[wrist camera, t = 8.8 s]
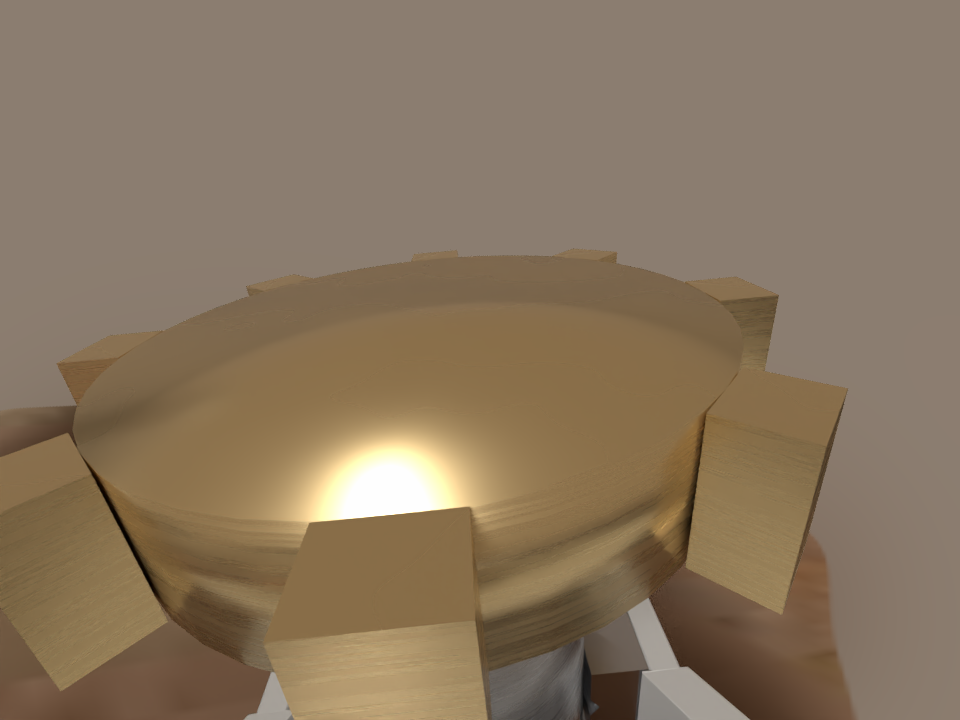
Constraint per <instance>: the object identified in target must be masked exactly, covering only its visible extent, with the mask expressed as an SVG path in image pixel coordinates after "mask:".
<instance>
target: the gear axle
mask: <svg viewBox="0 0 960 720" xmlns="http://www.w3.org/2000/svg"><path fill="white" fill-rule="evenodd" d="M616 259H617V252H611V251H597V250H585V249H584V250H583V249H571V250H568V251H565V252H562V253H560V254H557V255H554V256H552V257H551V256H550V257H549V256H473V257H458V253H457V250H455V251H444V252H433V253H422V254H414V256H413V258H412V261H411V262H404V263H397V264H389V265H382V266H376V267H370V268H364V269H358V270H353V271H347V272H342V273H337V274H332V275H328V276H323V277H319V278H314V279H313V278H309V277H304V276H299V275H289V276H285V277H281V278H277V279H273V280H269V281H265V282H262V283H257V284H253V285H249V286H246V287H247V291H248V294H249V297H245V298H242V299H239V300H236V301H234V302H231V303H228V304H225V305H223V306H220V307H217V308H214V309H212V310H209V311H207V312H205V313H202V314H200V315H197V316H195V317H193V318H190V319H188V320H186V321H184V322H182V323H179V324H177V325H175V326H173V327H171V328H169V329H167V330H165V331H153V332H142V333H131V334H121V335H111V336H108V337H106V338H104V339H102V340H100V341H98V342H96V343H94V344H93V345H91V346H89V347H87V348H85V349H83V350H81V351H79V352H77V353H75V354H73V355H72V356H70V357H68V358H66V359H64V360H62V361H60V362H58V363H57V365H58V368H59V369H60V371H61V373H62V375H63V378H64V380H65V381H66V384H67V386H68V388H69V390H70V392H71V394H72V395H73V398H74V400H75V402H76V404H77V406H78V407H77V408H76V410H75V416H74V423H73V430H72V431H73V435H74V438H75V441H76V445H77V448H78V449H77V448H76V446H75V444H74V442H73V441H72V439H71V437H70V435H69V434H68V433H66V434H63V435H60V436H58V437H55V438H52V439H49V440H47V441H44V442H41V443H38V444H36V445H33V446H30V447H27V448H25V449H22V450H19V451H16V452H14V453H11V454H8V455H5V456H3V457H0V608H1V609H2V610H3V612H4V613H5V615H6V616H7V617H8V619H9V620H10V621H11V623H12V624H13V626H14V627H15V628H16V630H17V631H18V633H19V634H20V635H21V637H22V638H23V640H24V641H25V642H26V644H27V645H28V646H29V648H30V649H31V651H32V652H33V653H34V655H35V656H36V658H37V659H38V660H39V662H40V663H41V665H42V666H43V667H44V669H45V670H46V672H47V673H48V674H49V676H50V677H51V678H52V680H53V681H54V683H55V684H56V685H57V687H58V688H59V690H60V691H62V690H64V689H65V688H67V687H68V686H70V685H71V684H73V683H75V682H76V681H78V680H79V679H81V678H82V677H84V676H85V675H87V674H88V673H90V672H91V671H93V670H94V669H96V668H98V667H99V666H101V665H102V664H104V663H105V662H107V661H108V660H110V659H111V658H113V657H114V656H116V655H117V654H119V653H121V652H122V651H124V650H125V649H127V648H128V647H130V646H131V645H133V644H134V643H136V642H137V641H139V640H140V639H142V638H144V637H145V636H147V635H148V634H150V633H151V632H153V631H154V630H156V629H157V628H159V627H160V626H162V625H163V624H165V623H167V622H168V621H167V619H166V617H165V615H164V613H163V611H162V609H161V607H160V605H159V604H158V602H157V600H158V601H159V603H160V604H161V605H162V607H163V608H164V609H165V611H166V612H167V613H168V615H169V616H170V617H171V619H172V620H173V621H175V622H176V623H177V624H178V625H180V626H181V627H182V628H183V629H185V630H186V631H187V632H188V633H190V634H191V635H192V636H194V637H195V638H196V639H197V640H199V641H200V642H201V643H202V644H204V645H206V646H208V647H210V648H212V649H214V650H216V651H218V652H220V653H222V654H225V655H227V656H229V657H231V658H233V659H235V660H237V661H239V662H241V663H243V664H245V665H249V666H252V667H256V668H260V669H263V670H267V671H271V672H275V674H276V676H277V679H278V681H279V684H280V686H281V689H282V691H283V694H284V696H285V698H286V701H287V703H288V706H289V708H290V711H291V713H292V716H293V718H294V720H583V671H584V636H586V635H588V634H590V633H592V632H595V631H597V630H599V629H601V628H603V627H605V626H607V625H608V624H610V623H611V622H613V621H614V620H616V619H617V618H619V617H620V616H622V615H623V614H625V613H626V612H628V611H629V610H631V609H632V608H634V607H635V606H637V605H638V604H640V603H641V602H643V601H644V600H646V599H647V598H649V597H650V596H651V595H652V594H653V593H654V592H655V591H656V590H657V589H658V588H659V587H660V586H661V585H662V584H664V583H665V582H666V581H667V580H668V579H669V578H670V577H671V576H672V575H673V574H674V573H675V572H676V571H677V570H678V569H680V568H681V567H682V565H683V564H684V563H685V561H686V560H687V561H686V568H687V569H689V570H691V571H693V572H695V573H697V574H699V575H701V576H703V577H705V578H708V579H710V580H712V581H714V582H716V583H718V584H720V585H722V586H724V587H726V588H728V589H730V590H732V591H734V592H736V593H738V594H740V595H742V596H744V597H746V598H748V599H750V600H752V601H754V602H757V603H759V604H761V605H763V606H765V607H767V608H769V609H771V610H773V611H775V612H777V613H779V614H781V615H782V613H783V610H784V607H785V604H786V601H787V598H788V595H789V592H790V589H791V586H792V583H793V580H794V577H795V574H796V571H797V568H798V565H799V562H800V559H801V556H802V553H803V550H804V547H805V544H806V541H807V538H808V534H809V530H810V526H811V523H812V519H813V515H814V512H815V508H816V504H817V501H818V497H819V494H820V490H821V486H822V483H823V479H824V475H825V472H826V468H827V464H828V460H829V457H830V453H831V449H832V446H833V442H834V438H835V435H836V431H837V427H838V423H839V420H840V416H841V413H842V409H843V405H844V401H845V398H846V394H847V391H848V389H847V388H843V387H838V386H833V385H828V384H823V383H818V382H813V381H809V380H804V379H799V378H794V377H790V376H785V375H780V374H775V373H770V372H765V366H766V361H767V355H768V350H769V345H770V340H771V334H772V329H773V323H774V318H775V313H776V307H777V302H778V297H779V295H777V294H775V293H773V292H770V291H768V290H766V289H763V288H761V287H759V286H756V285H754V284H752V283H749V282H747V281H745V280H743V279H740V278H738V277H728V278H718V279H708V280H696V281H686V282H685V283H684V282H682V281H679V280H676V279H674V278H671V277H668V276H665V275H662V274H659V273H655V272H651V271H648V270H644V269H640V268H635V267H631V266H626V265H621V264H616ZM155 597H156V598H155ZM156 599H157V600H156Z"/></svg>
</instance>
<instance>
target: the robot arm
mask: <svg viewBox="0 0 960 720" xmlns="http://www.w3.org/2000/svg"><path fill="white" fill-rule="evenodd" d="M583 711H584V715H585V719H586V720H750V719H749V718H748V717H746V716H745V715H744V714H743V713H742V712H741V711H739V710H738V709H737V708H736V707H735V706H733V705H732V704H731V703H730V702H729V701H728V700H726V699H725V698H724V697H723V696H722V695H721V694H719V693H718V692H717V691H716V690H715V689H714V688H712V687H711V686H710V685H709V684H708V683H707V682H705V681H704V680H703V679H702V678H701V677H700V676H698V675H697V674H696V673H695V672H694V671H693V670H691V669H690V668H689V667H680V666H679V664H678V661H677V659H676V657H675V655H674V653H673V650H672V648H671V646H670V644H669V641H668V639H667V637H666V635H665V633H664V630H663V628H662V626H661V624H660V621H659V619H658V617H657V615H656V613H655V610H654V608H653V606H652V604H651V601H650V599H649V598H647V599H646V600H644V601H643V602H641V603H640V604H638V605H637V606H635V607H634V608H632V609H631V610H629V611H628V612H626V613H625V614H623V615H622V616H620V617H619V618H617V619H616V620H614V621H613V622H611V623H610V624H608V625H607V626H605V627H603V628H601V629H599V630H597V631H595V632H592V633H590V634H588V635H586V636H584V671H583ZM244 720H294V718H293V716H292V713H291V711H290V708H289V706H288V703H287V701H286V698H285V696H284V694H283V691H282V689H281V686H280V684H279V681H278V679H277V676H276V674H275V672H271V674H270V677H269V680H268V683H267V685H266V688H265V691H264V694H263V697H262V700H261V702H260V705H259V708H258V711H257V713H253V714H248V715H247V717H246V718H245V719H244Z"/></svg>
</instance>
